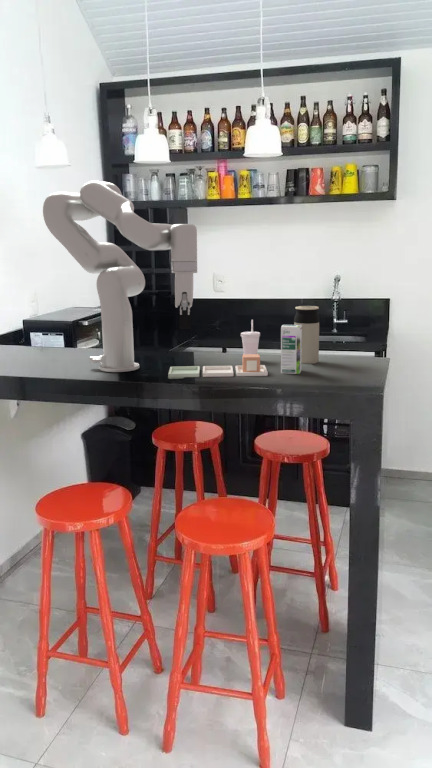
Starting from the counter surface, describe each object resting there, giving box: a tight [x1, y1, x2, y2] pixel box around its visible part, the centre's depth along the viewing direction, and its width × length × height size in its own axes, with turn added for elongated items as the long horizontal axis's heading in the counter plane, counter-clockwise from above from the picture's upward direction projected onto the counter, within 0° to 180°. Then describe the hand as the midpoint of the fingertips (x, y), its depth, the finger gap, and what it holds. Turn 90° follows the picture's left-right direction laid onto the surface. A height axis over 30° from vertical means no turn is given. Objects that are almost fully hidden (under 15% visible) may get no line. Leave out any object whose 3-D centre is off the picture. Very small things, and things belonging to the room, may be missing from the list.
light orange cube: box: [241, 353, 261, 372], centre depth 194 cm, size 5×5×5 cm
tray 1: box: [167, 365, 201, 380], centre depth 194 cm, size 9×11×2 cm
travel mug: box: [293, 305, 320, 365], centre depth 209 cm, size 8×8×18 cm
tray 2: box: [202, 365, 235, 378], centre depth 194 cm, size 9×11×2 cm
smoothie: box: [240, 319, 261, 354], centre depth 212 cm, size 6×6×14 cm
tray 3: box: [234, 364, 269, 377], centre depth 194 cm, size 9×11×2 cm
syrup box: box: [280, 324, 302, 375], centre depth 193 cm, size 6×6×14 cm
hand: (185, 326), depth 192 cm, fingers open, 9 cm apart
